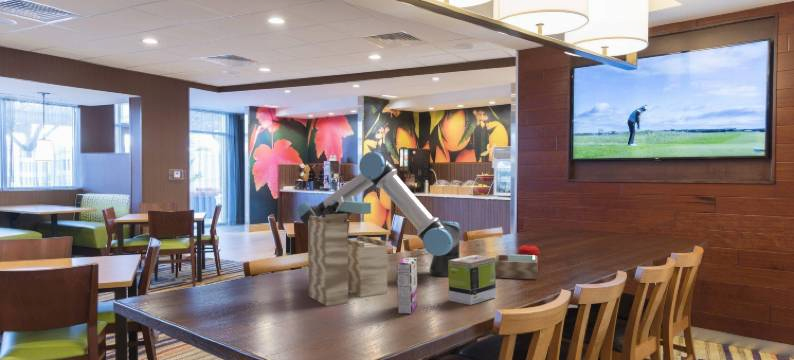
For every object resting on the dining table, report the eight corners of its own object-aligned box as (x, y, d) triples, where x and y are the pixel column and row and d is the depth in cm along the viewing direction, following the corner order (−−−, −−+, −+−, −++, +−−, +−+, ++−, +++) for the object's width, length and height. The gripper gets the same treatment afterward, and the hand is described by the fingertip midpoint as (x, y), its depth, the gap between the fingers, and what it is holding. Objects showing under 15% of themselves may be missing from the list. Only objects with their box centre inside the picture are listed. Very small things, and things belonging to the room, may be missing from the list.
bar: (370, 213, 202) (370, 203, 202) (361, 214, 200) (361, 203, 200) (341, 209, 226) (341, 199, 225) (332, 209, 224) (332, 199, 223)
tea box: (474, 293, 199) (473, 254, 199) (496, 298, 192) (496, 257, 192) (447, 300, 189) (447, 258, 188) (470, 305, 181) (470, 262, 181)
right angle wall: (507, 270, 244) (507, 254, 244) (535, 272, 241) (535, 255, 241) (506, 276, 232) (506, 258, 232) (534, 277, 229) (534, 259, 229)
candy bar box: (403, 305, 183) (402, 257, 183) (417, 305, 182) (417, 257, 182) (396, 313, 172) (396, 262, 172) (412, 314, 171) (411, 263, 171)
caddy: (537, 271, 242) (537, 255, 241) (537, 279, 224) (537, 262, 224) (496, 269, 246) (496, 254, 246) (493, 277, 229) (493, 261, 229)
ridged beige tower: (387, 293, 200) (386, 241, 200) (360, 297, 195) (360, 243, 194) (361, 283, 219) (360, 235, 219) (336, 286, 214) (335, 237, 213)
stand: (348, 302, 186) (347, 213, 186) (326, 306, 182) (325, 214, 182) (329, 293, 201) (328, 210, 200) (308, 296, 197) (308, 211, 196)
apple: (518, 268, 249) (518, 245, 249) (517, 264, 259) (517, 242, 259) (540, 268, 248) (540, 245, 247) (538, 265, 257) (538, 242, 257)
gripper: (347, 230, 236) (368, 206, 218) (311, 233, 227) (329, 208, 209) (344, 215, 239) (364, 190, 221) (307, 217, 230) (326, 191, 212)
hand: (347, 199), depth 215 cm, fingers closed on bar, 4 cm apart
